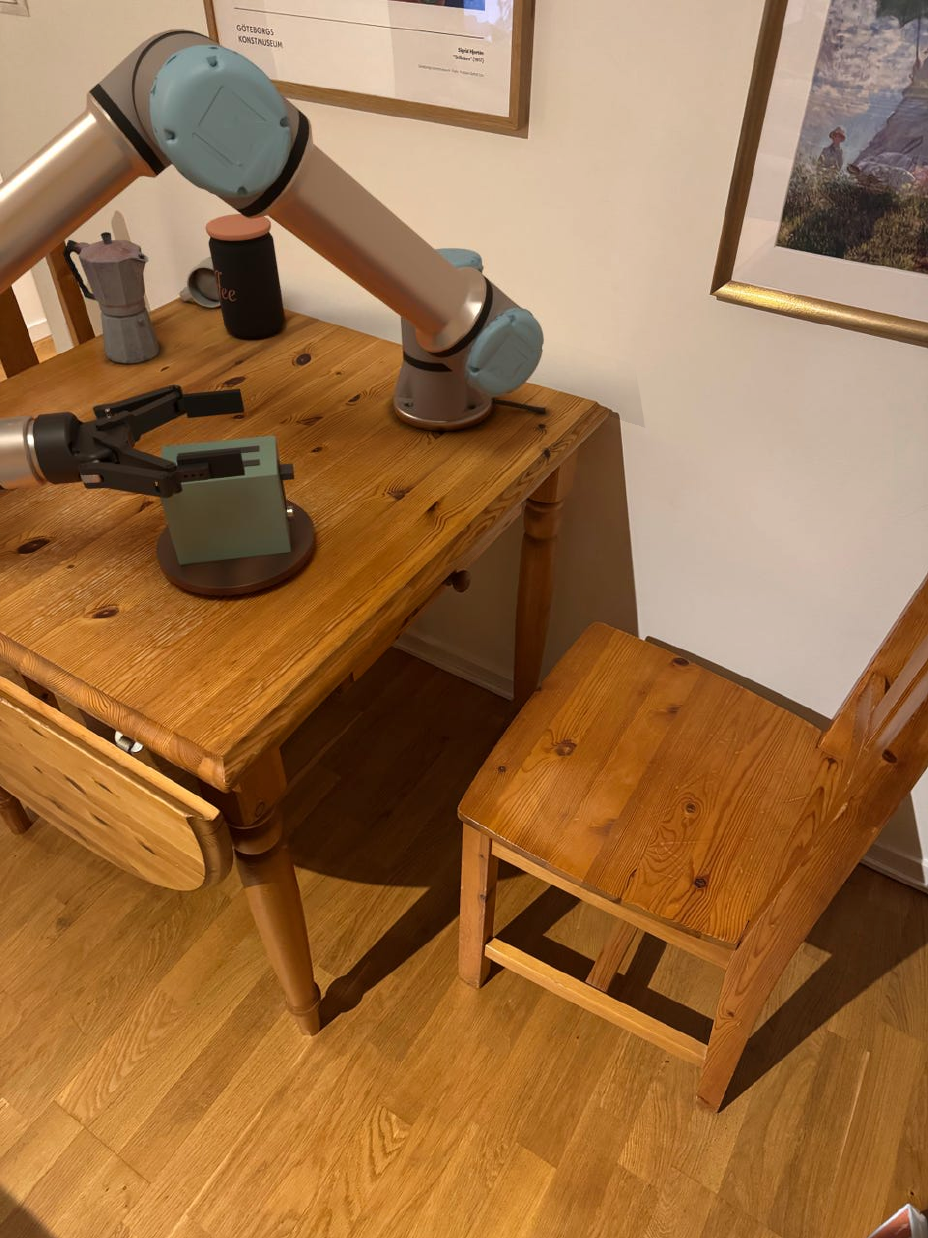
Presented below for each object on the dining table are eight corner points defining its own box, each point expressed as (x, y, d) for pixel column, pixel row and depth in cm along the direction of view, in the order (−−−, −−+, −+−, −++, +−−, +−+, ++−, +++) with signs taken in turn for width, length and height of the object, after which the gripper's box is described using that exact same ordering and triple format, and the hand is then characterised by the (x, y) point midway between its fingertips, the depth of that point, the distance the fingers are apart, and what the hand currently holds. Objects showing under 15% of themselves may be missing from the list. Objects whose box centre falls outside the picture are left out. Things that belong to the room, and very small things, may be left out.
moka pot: (160, 369, 143) (127, 245, 129) (75, 361, 145) (35, 238, 132) (185, 344, 150) (156, 224, 136) (103, 337, 152) (68, 218, 138)
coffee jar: (224, 319, 157) (204, 216, 145) (283, 313, 159) (268, 210, 147) (227, 344, 150) (205, 237, 138) (288, 338, 152) (273, 231, 139)
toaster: (152, 605, 98) (122, 516, 89) (163, 509, 112) (139, 424, 103) (320, 584, 100) (306, 496, 92) (311, 493, 114) (299, 409, 106)
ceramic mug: (242, 291, 167) (234, 250, 162) (231, 308, 161) (222, 266, 156) (188, 291, 167) (178, 250, 162) (175, 308, 161) (165, 266, 156)
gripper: (69, 423, 104) (247, 406, 107) (34, 547, 86) (249, 522, 89) (49, 365, 99) (236, 348, 102) (7, 484, 81) (235, 460, 84)
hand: (242, 429), depth 96 cm, fingers open, 13 cm apart
